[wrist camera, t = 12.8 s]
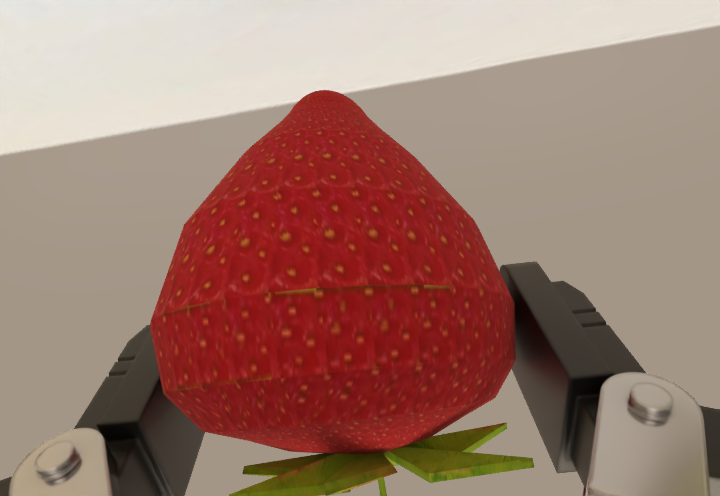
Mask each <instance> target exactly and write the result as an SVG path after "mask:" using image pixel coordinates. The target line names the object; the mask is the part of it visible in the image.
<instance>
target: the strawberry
mask: <svg viewBox="0 0 720 496" xmlns="http://www.w3.org/2000/svg"><path fill="white" fill-rule="evenodd" d="M150 331H151V336H152V341H153V345H154V350H155V355H156V360H157V365H158V370H159V375H160V380H161V384H162V389H163V394H164V395H165V396H166V397H167V398H168V399H169V400H170V401H171V402H172V403H173V404H174V405H175V406H176V407H177V408H179V409H180V410H181V411H182V412H183V413H184V414H185V415H186V416H187V417H188V418H189V419H190V420H191V421H192V422H193V423H194V424H195V425H196V426H197V427H198V428H199V429H200V430H201V431H204V432H208V433H213V434H218V435H223V436H228V437H233V438H238V439H243V440H248V441H252V442H255V443H259V444H263V445H267V446H271V447H275V448H279V449H283V450H287V451H293V452H312V453H324V454H317V455H311V456H306V457H299V458H292V459H286V460H281V461H274V462H268V463H261V464H255V465H249V466H244V470H243V474H248V475H259V476H271V477H274V478H271V479H269V480H266V481H264V482H261V483H258V484H256V485H253V486H250V487H248V488H245V489H243V490H240V491H238V492H235V493H232V494H230V495H229V496H319V495H326V496H327V495H332V494H339V493H345V492H350V490H351V489H353V488H355V487H358V486H361V485H364V484H367V483H369V482H372V481H375V480H378V483H379V490H380V496H387V495H386V488H385V482H384V477H386V476H389V475H391V474H394V473H397V471H396V469H395V468H394V467H393V466H395V465H401V466H402V467H404V468H406V469H407V470H409V471H411V472H413V473H415V474H416V475H418V476H419V477H421V478H423V479H425V480H426V481H428V482H430V483H432V482H438V481H446V480H452V479H458V478H466V477H472V476H478V475H485V474H492V473H499V472H506V471H512V470H519V469H525V468H533V467H534V464H533V459H532V458H526V457H515V456H504V455H492V454H481V453H480V454H479V453H471V452H472V451H474V450H475V449H477V448H478V447H480V446H481V445H482V444H484V443H486V442H487V441H489V440H490V439H492V438H493V437H495V436H496V435H498V434H499V433H501V432H502V431H504V430H505V429H507V423H502V424H497V425H492V426H487V427H481V428H475V429H470V430H464V431H459V432H454V433H448V434H443V435H437V436H433V435H434V434H436V433H437V432H439V431H441V430H442V429H444V428H446V427H447V426H449V425H450V424H452V423H454V422H455V421H457V420H459V419H460V418H462V417H463V416H465V415H467V414H468V413H470V412H472V411H473V410H475V409H477V408H479V407H480V406H482V405H484V404H485V403H487V402H489V401H491V400H492V399H494V398H495V397H496V395H497V394H498V392H499V390H500V388H501V386H502V385H503V383H504V381H505V379H506V377H507V376H508V374H509V372H510V370H511V368H512V367H513V365H514V363H515V361H516V341H515V303H514V301H513V299H512V297H511V295H510V293H509V291H508V288H507V286H506V284H505V282H504V280H503V278H502V276H501V274H500V272H499V270H498V268H497V266H496V263H495V262H494V260H493V257H492V255H491V253H490V251H489V249H488V247H487V245H486V243H485V241H484V239H483V237H482V234H481V232H480V230H479V228H478V227H477V225H476V223H475V221H474V220H473V218H471V216H470V215H469V214H468V213H467V212H466V211H465V210H464V209H463V208H462V207H461V206H460V205H459V204H458V202H457V201H456V200H455V199H454V198H453V197H452V196H451V195H450V194H449V193H448V192H447V191H446V190H445V189H444V188H443V187H442V185H441V184H440V183H439V182H438V181H437V180H436V179H435V178H434V177H433V176H432V175H431V174H430V173H429V172H428V171H427V170H426V169H425V167H424V166H423V165H422V164H421V163H420V162H419V161H418V160H417V159H416V158H415V157H414V156H413V155H412V154H410V153H409V152H408V151H407V150H406V149H405V148H403V147H402V146H401V145H400V144H399V143H397V142H396V141H395V140H393V139H392V138H391V137H390V136H389V135H387V134H386V133H385V132H383V131H382V130H381V129H380V128H379V127H378V126H377V125H376V124H375V123H374V122H373V121H372V120H370V119H369V118H368V117H367V115H366V114H365V113H364V112H363V110H362V109H361V108H360V107H359V106H358V105H357V104H356V103H355V102H354V101H352V100H351V99H349V98H348V97H346V96H344V95H343V94H341V93H338V92H335V91H329V90H320V91H315V92H312V93H310V94H308V95H306V96H305V97H303V98H302V99H301V100H300V101H299V102H298V103H297V104H296V105H295V106H294V107H293V109H292V110H291V112H290V113H289V114H288V115H287V116H286V117H285V118H284V119H283V120H282V121H281V122H280V123H279V124H278V125H277V126H276V127H274V128H273V129H272V130H271V131H269V132H268V133H267V134H266V135H265V136H263V137H262V138H261V139H260V140H259V141H257V142H256V143H255V144H254V145H253V146H252V147H250V148H249V149H248V150H247V151H246V152H245V153H244V154H243V156H242V157H241V158H240V159H239V160H238V161H237V163H236V164H235V165H234V166H233V167H232V168H231V170H230V171H229V172H228V173H227V174H226V176H225V177H224V178H223V179H222V180H221V182H220V183H219V184H218V185H217V186H216V187H215V189H214V190H213V191H212V192H211V194H210V195H209V196H208V197H207V198H206V200H205V201H204V202H203V203H202V204H201V205H200V207H199V208H198V209H197V210H196V211H195V212H194V214H193V215H192V216H191V217H190V218H189V220H188V221H187V222H186V223H185V224H184V227H183V230H182V233H181V236H180V238H179V241H178V244H177V247H176V250H175V253H174V256H173V259H172V262H171V265H170V267H169V270H168V273H167V276H166V279H165V282H164V285H163V288H162V290H161V293H160V296H159V300H158V302H157V305H156V308H155V311H154V314H153V316H152V319H151V323H150ZM431 436H432V437H431Z"/></svg>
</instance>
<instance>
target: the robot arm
mask: <svg viewBox="0 0 720 496" xmlns="http://www.w3.org/2000/svg"><path fill="white" fill-rule="evenodd" d="M499 272H500V274H501V276H502V278H503V280H504V282H505V284H506V286H507V288H508V291H509V293H510V295H511V297H512V299H513V301H514V303H515V341H516V361H515V363H514V365H513V367H512V371H513V373H514V375H515V377H516V380H517V382H518V384H519V387H520V389H521V391H522V394H523V395H524V398H525V400H526V403H527V405H528V407H529V410H530V412H531V414H532V416H533V419H534V421H535V423H536V426H537V428H538V430H539V433H540V435H541V437H542V439H543V442H544V444H545V446H546V448H547V451H548V453H549V455H550V458H551V460H552V462H553V465H554V467H555V469H556V471H557V473H565V472H575V471H577V472H578V474H579V477H580V478H581V480H582V483H583V485H584V489H583V495H582V496H720V409H713V408H708V407H703V406H699V404H698V403H697V402H696V400H695V399H694V398H693V397H692V396H691V395H690V394H689V393H688V392H687V391H685V390H684V389H683V388H681V387H680V386H678V385H676V384H675V383H673V382H671V381H669V380H667V379H664V378H661V377H659V376H655V375H652V374H647V373H646V372H645V371H644V370H643V368H642V367H641V366H640V365H639V363H638V362H637V361H636V359H635V358H634V357H633V356H632V355H631V353H630V352H629V351H628V349H627V348H626V347H625V346H624V344H623V343H622V342H621V340H620V339H619V338H618V337H617V335H616V334H615V333H614V331H613V330H612V329H611V328H610V326H609V325H606V321H605V320H604V319H603V317H602V316H601V315H600V314H599V312H596V309H595V307H594V306H593V305H592V303H591V302H590V301H589V300H588V298H587V297H586V296H585V295H584V293H582V292H581V291H579V290H578V289H576V288H574V287H573V286H571V285H569V284H568V283H566V282H564V281H558V282H551V281H550V280H549V278H548V277H547V275H546V274H545V272H544V271H543V270H542V268H541V267H540V266H539V264H538V263H537V262H526V263H517V264H509V265H502V266H501V267H500V271H499ZM204 433H205V432H204V431H201V430H200V429H199V428H198V427H197V426H196V425H195V424H194V423H193V422H192V421H191V420H190V419H189V418H188V417H187V416H186V415H185V414H184V413H183V412H182V411H181V410H180V409H179V408H177V407H176V406H175V405H174V404H173V403H172V402H171V401H170V400H169V399H168V398H167V397H166V396H165V395H164V394H163V389H162V384H161V380H160V375H159V370H158V365H157V360H156V355H155V350H154V345H153V341H152V336H151V331H150V325H147V326H146V327H145V328H143V330H142V331H140V332H139V333H138V334H137V335H135V336H134V337H133V338H132V339H131V340H130V341H129V342H128V343H127V345H126V347H125V348H124V350H123V351H122V353H121V354H120V356H119V358H118V362H116V363H115V364H114V366H113V367H112V369H111V370H110V372H109V377H106V378H105V380H104V382H103V383H102V385H101V386H100V388H99V390H98V391H97V393H96V394H95V396H94V398H93V399H92V401H91V403H90V404H89V406H88V408H87V409H86V410H85V412H84V414H83V415H82V417H81V419H80V420H79V422H78V423H77V425H76V426H75V428H74V429H72V430H69V431H65V432H63V433H60V434H58V435H56V436H54V437H52V438H50V439H48V440H47V441H45V442H43V443H42V444H40V445H39V446H38V447H36V448H35V449H34V450H33V451H31V452H30V453H29V454H28V455H27V456H26V457H25V458H24V459H23V460H22V462H21V463H20V464H19V465H18V467H17V468H16V470H15V472H14V473H13V476H12V477H9V478H7V479H4V480H1V481H0V496H184V495H185V492H186V489H187V486H188V483H189V480H190V477H191V474H192V471H193V467H194V464H195V461H196V458H197V455H198V452H199V449H200V446H201V443H202V440H203V436H204Z"/></svg>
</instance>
